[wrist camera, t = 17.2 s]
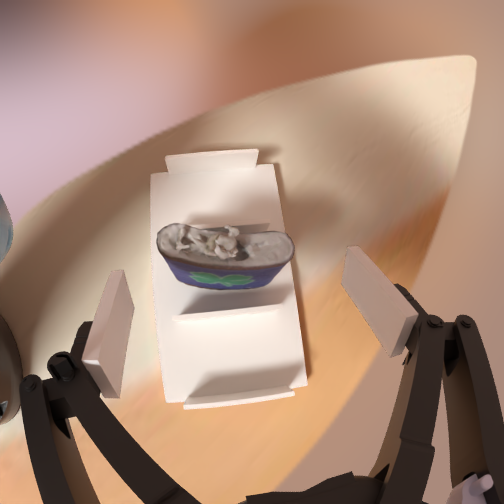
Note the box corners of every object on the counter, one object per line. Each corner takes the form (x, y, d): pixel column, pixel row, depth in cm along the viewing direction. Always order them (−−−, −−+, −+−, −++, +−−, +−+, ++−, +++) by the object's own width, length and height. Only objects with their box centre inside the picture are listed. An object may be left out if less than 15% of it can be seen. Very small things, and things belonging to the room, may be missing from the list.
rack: (168, 400, 25) (160, 410, 21) (152, 179, 31) (144, 158, 27) (304, 383, 27) (317, 390, 23) (271, 169, 32) (278, 148, 28)
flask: (273, 262, 28) (303, 221, 18) (272, 293, 28) (303, 268, 17) (174, 255, 27) (149, 210, 17) (171, 287, 27) (142, 258, 16)
